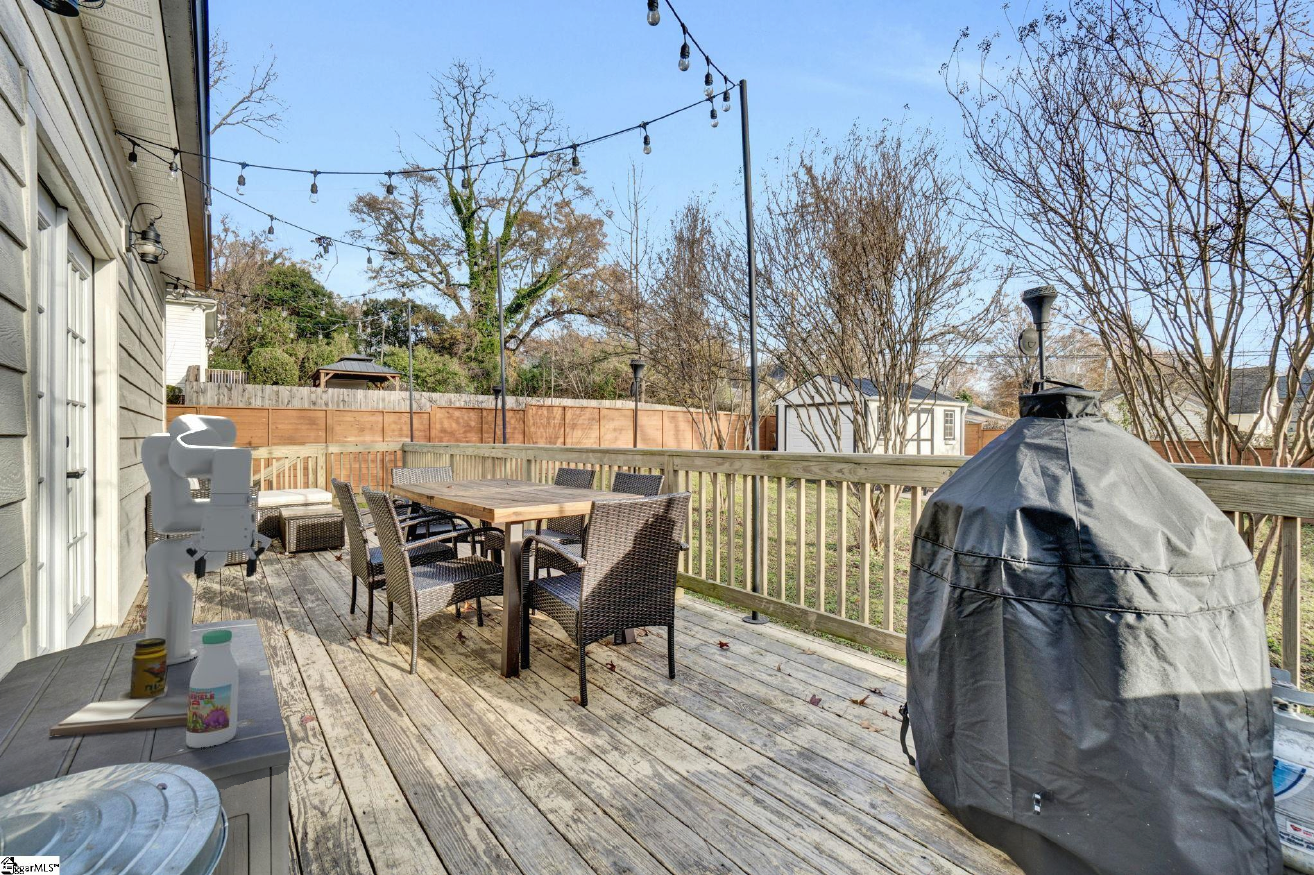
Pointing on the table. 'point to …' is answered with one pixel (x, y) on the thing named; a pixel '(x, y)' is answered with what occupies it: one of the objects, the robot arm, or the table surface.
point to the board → (125, 715)
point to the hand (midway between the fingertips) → (225, 576)
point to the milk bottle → (213, 693)
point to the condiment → (147, 670)
